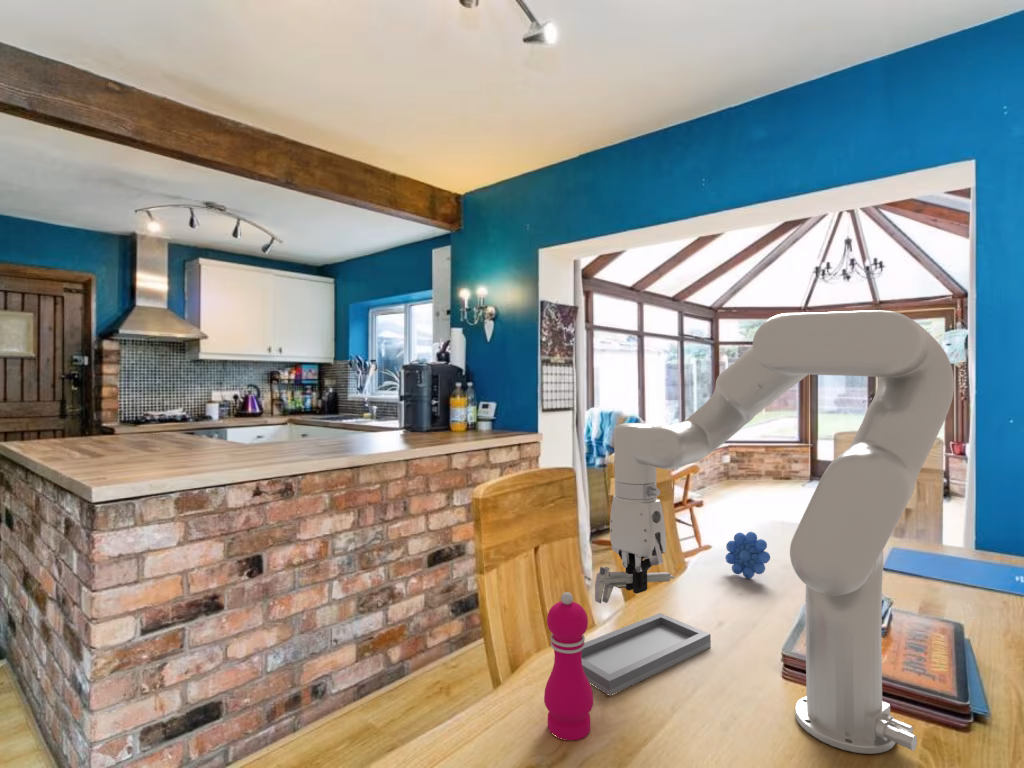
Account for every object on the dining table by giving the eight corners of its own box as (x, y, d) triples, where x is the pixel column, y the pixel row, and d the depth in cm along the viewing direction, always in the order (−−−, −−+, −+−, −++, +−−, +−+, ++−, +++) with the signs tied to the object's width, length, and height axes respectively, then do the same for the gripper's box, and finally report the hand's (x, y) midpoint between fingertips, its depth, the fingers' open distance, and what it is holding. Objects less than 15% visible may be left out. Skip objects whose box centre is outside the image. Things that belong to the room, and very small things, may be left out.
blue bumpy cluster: (778, 580, 139) (777, 532, 139) (765, 586, 135) (764, 537, 134) (734, 568, 148) (734, 523, 148) (721, 574, 144) (720, 528, 144)
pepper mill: (589, 712, 85) (587, 582, 85) (598, 742, 78) (595, 601, 78) (542, 713, 85) (540, 584, 85) (547, 744, 78) (544, 603, 78)
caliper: (599, 606, 96) (598, 569, 96) (594, 603, 97) (594, 568, 97) (674, 579, 108) (674, 547, 108) (670, 577, 109) (669, 545, 109)
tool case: (710, 647, 105) (710, 634, 105) (609, 696, 89) (609, 681, 89) (660, 624, 115) (659, 612, 115) (561, 666, 99) (560, 652, 99)
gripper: (683, 494, 98) (684, 598, 98) (618, 482, 110) (619, 574, 111) (655, 500, 94) (656, 609, 94) (591, 486, 106) (592, 582, 106)
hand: (636, 589), depth 102 cm, fingers closed on caliper, 1 cm apart
